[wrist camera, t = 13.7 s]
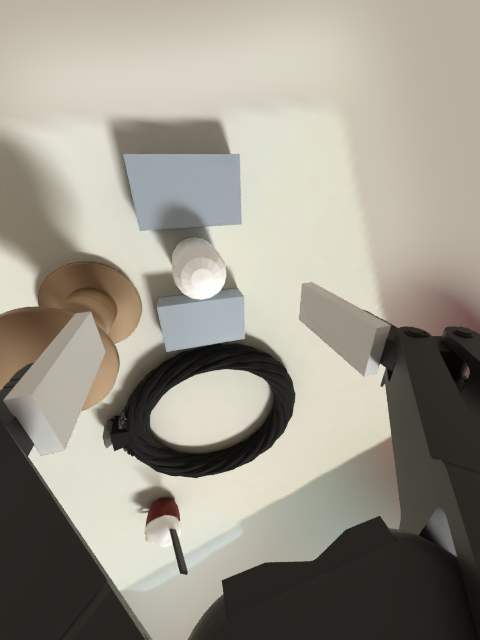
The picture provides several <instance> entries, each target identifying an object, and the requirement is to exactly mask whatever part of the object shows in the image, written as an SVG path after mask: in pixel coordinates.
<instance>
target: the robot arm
mask: <svg viewBox="0 0 480 640" xmlns="http://www.w3.org/2000/svg"><path fill="white" fill-rule="evenodd" d="M299 320H300V321H301V322H303V323H304V324H305V325H306V326H307V327H308V328H309V329H311V330H312V331H313V332H314V333H315V334H316V335H317V336H318V337H320V338H321V339H322V340H323V341H324V342H325V343H326V344H328V345H329V346H330V347H331V348H332V349H333V350H334V351H335V352H337V353H338V354H339V355H340V356H341V357H342V358H343V359H345V360H346V361H347V362H348V363H349V364H350V365H351V366H352V367H354V368H355V369H356V370H357V371H358V372H359V373H360V374H362V375H363V376H364V377H365V376H369V375H373V374H377V372H378V368H379V365H380V364H382V365H383V366H384V367H386V369H385V373H384V376H383V379H382V382H381V387H383V385H384V384H385V386H386V394H387V402H388V410H389V419H390V427H391V435H392V443H393V451H394V459H395V467H396V475H397V483H398V492H399V500H400V507H401V521H400V527H399V530H398V529H391V528H388V527H387V526H386V524H385V523H384V521H383V520H382V519H381V517H380V516H378V517H376V518H374V519H371V520H369V521H366V522H364V523H361V524H359V525H356V526H354V527H352V528H349V529H347V530H345V531H344V532H343V533H342V534H341V535H340V536H339V537H338V538H337V539H336V540H335V541H334V542H333V543H332V544H331V545H330V546H329V547H328V548H327V549H326V550H325V551H324V552H323V553H322V554H321V555H320V556H319V557H318V558H317V559H315V560H313V561H305V562H273V563H272V562H269V563H263V564H261V565H258V566H256V567H254V568H251V569H249V570H246V571H244V572H242V573H239V574H236V575H234V576H232V577H229V578H227V579H224V580H222V586H223V592H224V594H223V595H222V596H221V597H220V598H218V599H217V600H216V601H215V602H214V603H213V604H212V605H211V607H210V608H209V609H208V610H207V611H206V612H205V613H204V615H203V616H202V618H201V619H200V620H199V622H198V623H197V625H196V626H195V628H194V629H193V631H192V633H191V635H190V637H189V638H188V640H480V334H478V333H477V332H475V331H472V330H470V329H468V328H464V327H447V328H445V330H444V332H443V335H442V336H431V335H430V334H429V333H427V332H426V331H424V330H421V329H418V328H414V327H400V328H397V327H395V326H393V325H392V324H390V323H388V322H386V321H384V320H382V319H380V318H379V317H377V316H374V315H373V314H371V313H370V312H368V311H365V310H362V309H360V308H358V307H357V306H355V305H353V304H351V303H349V302H347V301H346V300H344V299H342V298H340V297H338V296H336V295H335V294H333V293H331V292H329V291H327V290H325V289H324V288H322V287H320V286H318V285H316V284H314V283H313V282H311V283H303V284H302V291H301V303H300V314H299ZM105 352H106V351H105V349H104V346H103V343H102V340H101V338H100V335H99V332H98V329H97V327H96V324H95V321H94V318H93V315H92V313H91V312H83V313H76V314H75V315H74V316H73V317H72V319H71V320H70V321H69V322H68V323H67V325H66V326H65V327H64V328H63V329H62V330H61V332H60V333H59V334H58V335H57V336H56V338H55V339H54V340H53V341H52V342H51V344H50V345H49V346H48V347H47V348H46V350H45V351H44V352H43V353H42V354H41V356H40V357H39V358H38V359H37V360H36V362H35V363H29V364H27V365H26V366H25V367H23V368H22V369H20V370H19V371H17V372H16V373H15V374H14V375H13V377H12V378H11V379H10V380H9V382H7V383H6V384H5V386H4V387H3V389H1V390H0V640H152V638H151V637H150V636H149V634H148V633H147V631H146V630H145V629H144V627H143V626H142V624H141V623H140V621H139V620H138V619H137V617H136V615H135V614H134V612H133V611H132V610H131V608H130V607H129V605H128V604H127V602H126V601H125V600H124V598H123V596H122V595H121V593H120V592H119V590H118V589H117V587H116V586H115V584H114V583H113V581H112V580H111V578H110V577H109V575H108V574H107V573H106V571H105V570H104V568H103V567H102V565H101V564H100V562H99V561H98V559H97V558H96V556H95V555H94V553H93V552H92V550H91V549H90V547H89V546H88V544H87V543H86V541H85V540H84V539H83V537H82V536H81V534H80V533H79V531H78V530H77V528H76V527H75V525H74V524H73V522H72V521H71V519H70V518H69V516H68V515H67V513H66V512H65V510H64V509H63V507H62V506H61V505H60V503H59V502H58V500H57V499H56V497H55V496H54V494H53V493H52V491H51V490H50V488H49V487H48V485H47V484H46V482H45V481H44V479H43V478H42V476H41V475H40V473H39V472H38V471H37V469H36V468H35V466H34V465H33V463H32V462H31V460H30V459H29V458H28V455H29V453H30V451H31V450H32V448H33V446H34V447H35V448H36V450H37V451H38V453H39V454H40V456H43V455H47V454H51V453H55V452H59V451H63V450H65V448H66V446H67V443H68V441H69V439H70V436H71V434H72V431H73V429H74V427H75V424H76V422H77V419H78V417H79V415H80V412H81V410H82V407H83V405H84V403H85V400H86V398H87V396H88V393H89V391H90V388H91V386H92V384H93V381H94V379H95V376H96V374H97V372H98V369H99V367H100V364H101V362H102V360H103V357H104V355H105ZM468 367H469V369H470V375H469V378H467V377H466V376H465V375H464V374H465V372H466V371H467V368H468Z"/></svg>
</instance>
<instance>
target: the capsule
mask: <svg viewBox="0 0 480 640" xmlns="http://www.w3.org/2000/svg"><path fill="white" fill-rule="evenodd" d="M172 275H173V279H174V282H175V284H176V285H177V287H178V288H179V289H180V290H181V292H182V293H183V294H185V295H187V296H189V297H190V298H193V299H200V300H202V299H207V298H211V297H213V296H214V295H215V294H217V293H218V292H219V291H220V290H221V288H222V287H223V286H224V284H225V279H226V267H225V262H224V260H223V259H222V257H221V256H220V254H219V253H218V252H217V250H216V249H215V248H214V247H213V246H212V245H211V244H210V243H209V242H207V241H206V240H204V239H201V238H197V237H192V238H186V239H184V240H183V241H181V242H180V243H178V244H177V246H176V248H175V249H174V251H173V257H172Z"/></svg>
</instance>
